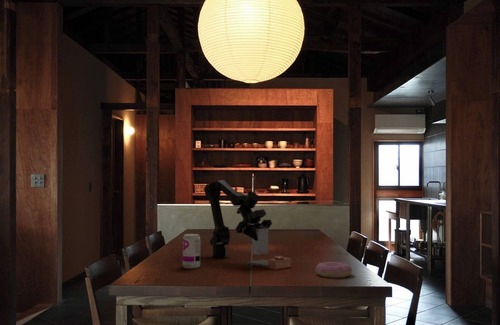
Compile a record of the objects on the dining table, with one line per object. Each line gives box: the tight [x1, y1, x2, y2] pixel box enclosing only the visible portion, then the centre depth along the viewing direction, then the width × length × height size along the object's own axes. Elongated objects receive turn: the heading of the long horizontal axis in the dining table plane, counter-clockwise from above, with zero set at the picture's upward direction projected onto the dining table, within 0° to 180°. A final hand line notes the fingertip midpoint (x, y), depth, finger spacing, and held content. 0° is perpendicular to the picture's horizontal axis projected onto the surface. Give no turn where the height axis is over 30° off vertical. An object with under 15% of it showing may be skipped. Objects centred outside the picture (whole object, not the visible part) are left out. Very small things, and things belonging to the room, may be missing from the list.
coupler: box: [247, 255, 292, 271], centre depth 239 cm, size 19×10×5 cm, turn 43°
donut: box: [315, 261, 352, 279], centre depth 217 cm, size 16×15×5 cm
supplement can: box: [182, 233, 201, 269], centre depth 236 cm, size 8×8×15 cm
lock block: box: [251, 226, 269, 256], centre depth 239 cm, size 6×6×13 cm
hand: (261, 239), depth 238 cm, fingers closed on lock block, 5 cm apart
